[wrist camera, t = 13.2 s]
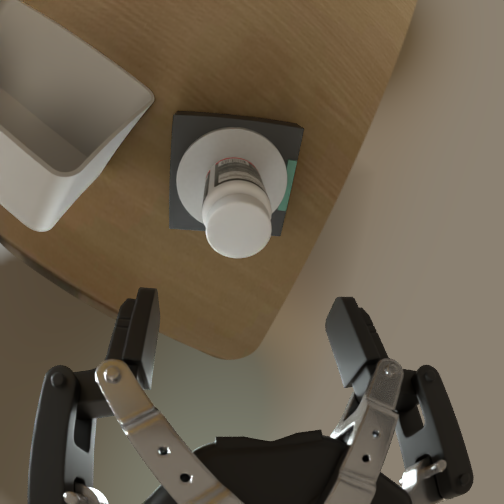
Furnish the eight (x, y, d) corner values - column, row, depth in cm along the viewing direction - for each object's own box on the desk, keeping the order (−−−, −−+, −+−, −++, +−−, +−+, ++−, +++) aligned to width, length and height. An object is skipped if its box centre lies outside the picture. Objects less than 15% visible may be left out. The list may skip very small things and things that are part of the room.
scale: (297, 123, 24) (306, 130, 22) (276, 224, 30) (281, 240, 28) (177, 110, 22) (171, 115, 20) (172, 217, 29) (168, 233, 26)
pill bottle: (234, 215, 26) (241, 276, 19) (194, 184, 24) (183, 237, 17) (272, 179, 24) (294, 230, 17) (231, 144, 22) (237, 181, 15)
